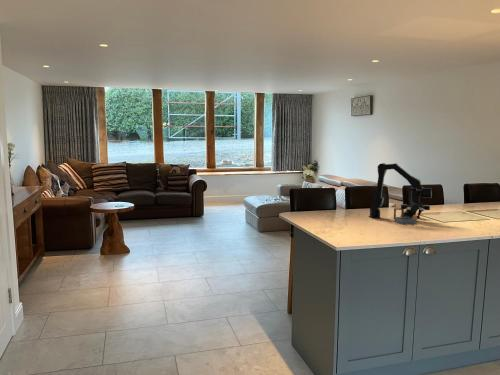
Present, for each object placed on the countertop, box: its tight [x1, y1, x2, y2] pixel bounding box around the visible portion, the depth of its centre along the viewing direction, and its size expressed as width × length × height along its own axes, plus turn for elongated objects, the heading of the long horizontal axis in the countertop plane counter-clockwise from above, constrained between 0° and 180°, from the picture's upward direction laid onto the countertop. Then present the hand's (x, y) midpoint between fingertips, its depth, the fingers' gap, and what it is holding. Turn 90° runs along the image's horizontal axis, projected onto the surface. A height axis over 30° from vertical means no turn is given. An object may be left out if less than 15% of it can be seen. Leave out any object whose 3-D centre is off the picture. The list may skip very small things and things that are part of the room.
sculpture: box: [404, 204, 421, 219], centre depth 305 cm, size 6×13×13 cm, turn 51°
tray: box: [394, 216, 417, 225], centre depth 284 cm, size 10×10×3 cm
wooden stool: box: [393, 206, 405, 221], centre depth 297 cm, size 6×6×8 cm
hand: (414, 219), depth 291 cm, fingers closed on ball, 4 cm apart
